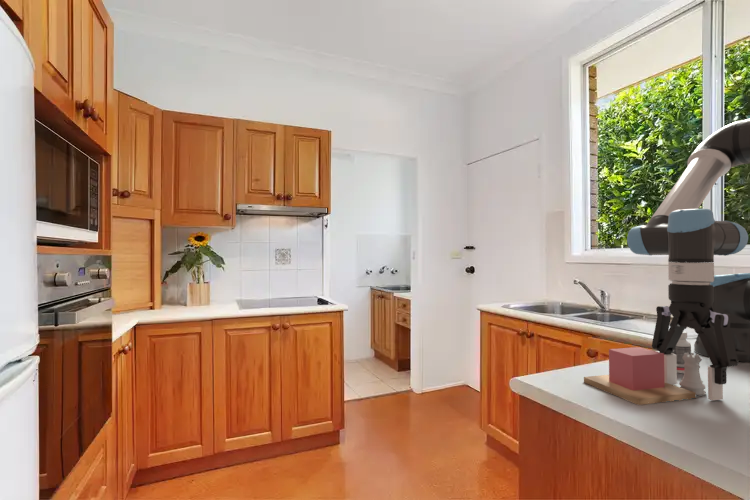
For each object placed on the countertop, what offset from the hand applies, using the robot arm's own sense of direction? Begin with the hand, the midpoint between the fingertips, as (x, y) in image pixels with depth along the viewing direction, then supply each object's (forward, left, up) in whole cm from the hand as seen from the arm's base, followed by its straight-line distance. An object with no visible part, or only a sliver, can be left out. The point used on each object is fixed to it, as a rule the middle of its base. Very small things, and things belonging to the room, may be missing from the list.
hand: (691, 391), depth 83 cm
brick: (+10, -4, +1) cm, 11 cm away
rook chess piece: (0, 0, 0) cm, 1 cm away
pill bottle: (-12, -13, 0) cm, 18 cm away
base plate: (+10, -4, 0) cm, 11 cm away
